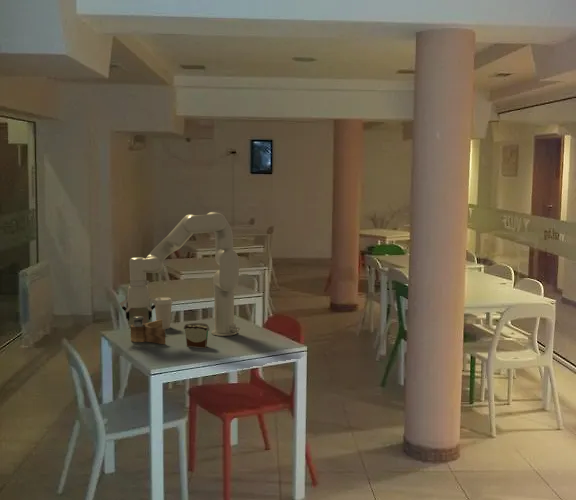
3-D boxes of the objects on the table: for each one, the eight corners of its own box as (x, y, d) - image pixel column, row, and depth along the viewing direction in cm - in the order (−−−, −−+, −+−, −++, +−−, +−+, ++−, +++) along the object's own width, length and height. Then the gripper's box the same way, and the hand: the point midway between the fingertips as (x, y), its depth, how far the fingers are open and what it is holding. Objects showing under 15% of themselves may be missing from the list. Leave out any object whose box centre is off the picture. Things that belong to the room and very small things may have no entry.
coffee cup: (157, 325, 372) (156, 296, 370) (175, 326, 371) (174, 297, 369) (151, 329, 363) (150, 300, 361) (169, 330, 361) (169, 300, 360)
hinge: (186, 337, 346) (186, 323, 345) (158, 345, 329) (158, 330, 328) (155, 332, 356) (155, 318, 355) (127, 340, 339) (127, 326, 339)
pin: (146, 339, 341) (145, 316, 340) (138, 341, 337) (138, 318, 336) (138, 338, 344) (137, 315, 343) (131, 340, 340) (130, 317, 338)
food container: (214, 345, 330) (214, 323, 329) (208, 348, 325) (208, 326, 323) (190, 343, 334) (189, 322, 333) (183, 346, 329) (183, 324, 327)
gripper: (156, 281, 343) (157, 317, 345) (119, 283, 339) (120, 318, 341) (157, 284, 336) (158, 320, 338) (119, 285, 332) (120, 322, 334)
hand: (139, 319), depth 339 cm, fingers open, 9 cm apart
